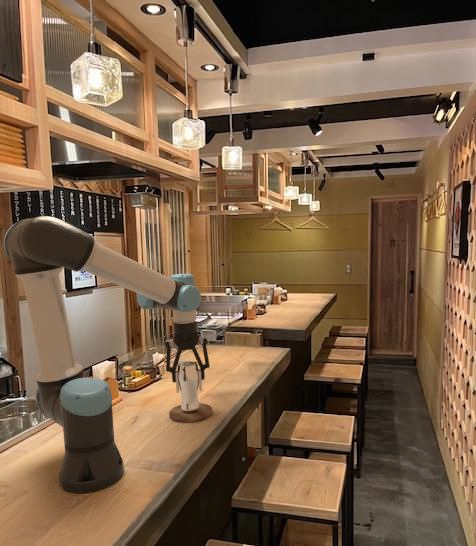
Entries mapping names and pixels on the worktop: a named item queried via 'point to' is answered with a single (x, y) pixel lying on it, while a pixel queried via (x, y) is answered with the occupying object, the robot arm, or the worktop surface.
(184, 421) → the walnut coaster board
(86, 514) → the worktop surface
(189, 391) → the beer glass
